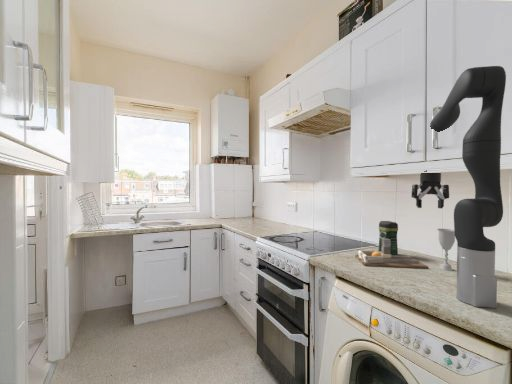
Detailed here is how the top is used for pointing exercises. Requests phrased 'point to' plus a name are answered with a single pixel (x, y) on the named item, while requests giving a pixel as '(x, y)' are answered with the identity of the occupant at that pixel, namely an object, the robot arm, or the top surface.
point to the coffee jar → (388, 235)
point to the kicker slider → (386, 249)
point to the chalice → (446, 245)
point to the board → (388, 261)
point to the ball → (376, 254)
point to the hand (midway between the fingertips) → (429, 208)
